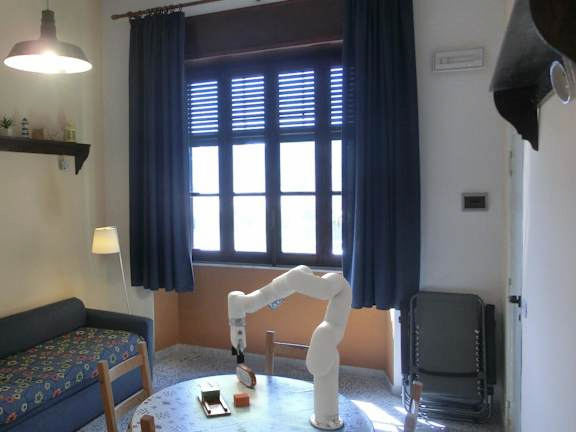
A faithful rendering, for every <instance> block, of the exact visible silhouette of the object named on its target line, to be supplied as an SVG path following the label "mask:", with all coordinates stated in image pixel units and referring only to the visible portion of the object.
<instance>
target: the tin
mask: <svg viewBox="0 0 576 432" xmlns="http://www.w3.org/2000/svg"><path fill="white" fill-rule="evenodd" d="M235 374H236V377H237V380H238V381H239V382H240V383H242V384H243V385H244V386H246V387H247V388H249V389H250V388H253V387H256V386H257V377H256V374H255V372H254V371H253V369H252V368H250V367H249V366H247V365H245V364H244V363H240V364H238V365H236V367H235Z"/></svg>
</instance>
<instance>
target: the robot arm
mask: <svg viewBox="0 0 576 432" xmlns="http://www.w3.org/2000/svg"><path fill="white" fill-rule="evenodd" d="M295 293H298V294H301V295H305V296H307V297H311V298H314V299H316V300H317V299H318V300H322V301H327V300H329V301H328V303H327V306H326V310H325V314H324V317H323V320H322V322H321V323H320V324H319V325H317V327H316V328H315V329H314V331H313V333H312V335H311V339H310V342H309V346H308V349H307V354H306V357H305V366H306V369H307V370H308V372H309V374H311V375H313V414H312V415H311V416H310V419H309V422H310V423H311V425H313V427H316V428H318V429H320V430H327V431H328V430H329V431H330V430H331V431H332V430H337V429H340V428H342V426H343V425H344V420H343V418H342V417H341V416H340V406H339V403H340V402H339V401H340V400H339V371H340V359H341V358H340V353H339V350H338V349H337V346H339V344H341V342H342V341H343V339H344V336H345V332H346V327H347V324H348V320H349V316H350V312H351V308H352V303H353V291H352V287H351V284H350V283H349V281H348V280H347V279H346V278H345V277H344V276H343V275H342V274H340V273H337V272H328V273H326V274H324V275H322V276H319V275H315V274H314V272H313V270H312V269H311V267H309V266H307V265H298V266H296V267H293V268H291V269H290V270H288V271H287V272H285V273H283V274H281V275H279V276H277V277H276V278H274V279H272V281H271V282H270V283H268V284H266V285H265V286H263V287H261V288H259V289H257V290H255V291H253V292H251V293H249V294H245V293H244V292H242V291H231V292H229V293H228V295H227V311H228V312H227V313H228V314H227V315H228V316H227V317H228V320H227V321H228V325H229V326H230V327H229V328H230V333H229V334H230V342H231V344H230V345H231V356H232V357H233V356H236V363H237V364H238V365H240V364H245V349H246V348H247V335H246V334H247V333H246V327H245V326H246V325H247V315H246V314H253V313H256V312H258V311H259V310H261V309H262V308H264V307H267V306H268V305H270V304H272V303H274V302H276V301H278V300H280V299H282V300H283V299H286V298H287V297H289V296H291V295H293V294H295Z"/></svg>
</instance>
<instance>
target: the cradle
mask: <svg viewBox="0 0 576 432" xmlns="http://www.w3.org/2000/svg"><path fill="white" fill-rule="evenodd" d="M197 399H198V401H199V402H200V406H201V407H202V409H203V411H204V413H205V415H206V418H212V417H213V418H216V417H222V416H231V415H232V412H231V410H230V409H229V407H228V405H227V404H226V402H225V400H224V399H223V397H222V395H221V389H220V388H219V386H216V387H214V386H213V387H205V388H200V394H198V395H197Z"/></svg>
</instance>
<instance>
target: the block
mask: <svg viewBox="0 0 576 432" xmlns="http://www.w3.org/2000/svg"><path fill="white" fill-rule="evenodd" d="M233 404H234V406H235V408H241V407H249V406H250V396H249V394H248V393H247V392H243V393H242V392H241V393H234V394H233Z"/></svg>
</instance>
